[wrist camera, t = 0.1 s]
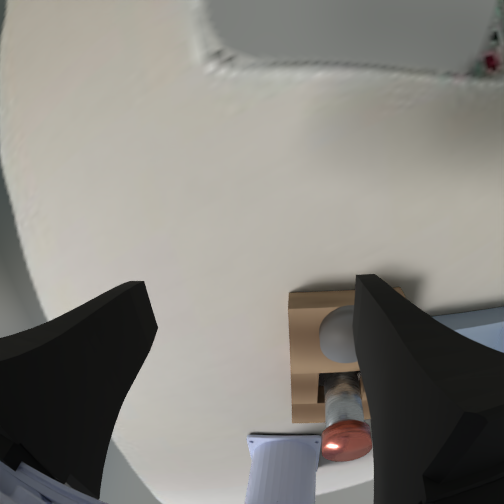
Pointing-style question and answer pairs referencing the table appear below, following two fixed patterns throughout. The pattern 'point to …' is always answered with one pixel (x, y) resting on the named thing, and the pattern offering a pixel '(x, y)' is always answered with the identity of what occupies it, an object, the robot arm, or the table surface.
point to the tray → (478, 326)
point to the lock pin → (344, 418)
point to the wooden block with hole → (320, 348)
